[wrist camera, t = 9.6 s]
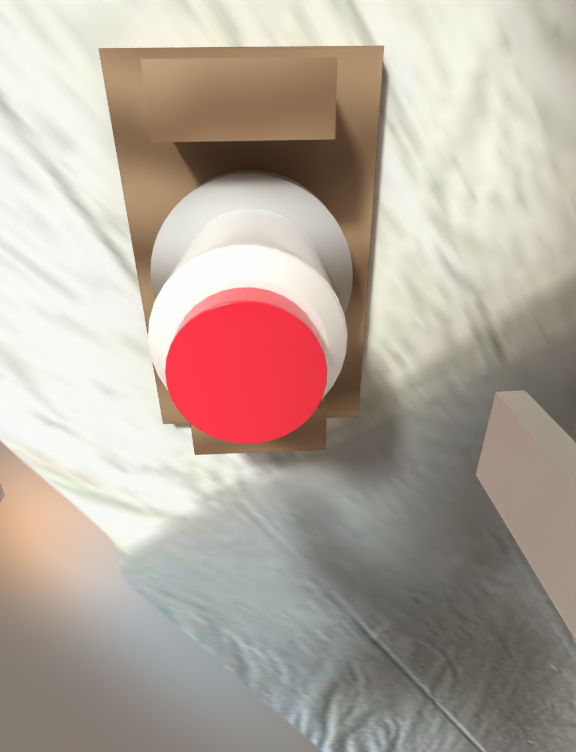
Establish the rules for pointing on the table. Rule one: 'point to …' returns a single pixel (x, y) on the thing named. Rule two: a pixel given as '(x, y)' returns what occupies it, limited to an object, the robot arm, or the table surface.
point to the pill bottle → (248, 328)
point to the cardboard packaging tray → (251, 173)
